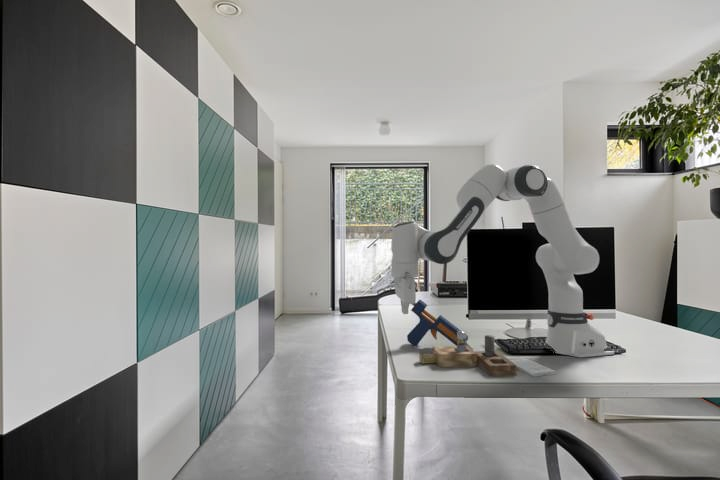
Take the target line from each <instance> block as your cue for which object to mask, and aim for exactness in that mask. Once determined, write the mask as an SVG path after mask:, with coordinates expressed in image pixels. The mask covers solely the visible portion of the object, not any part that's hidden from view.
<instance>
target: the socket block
mask: <svg viewBox="0 0 720 480" xmlns="http://www.w3.org/2000/svg"><path fill="white" fill-rule="evenodd" d="M471 348H472V347H471ZM471 348H469V347H468V346H466V352H457V346H456V345H454V346H452V345H451V346H450V345H449V346H448V345H447V346H432V354H436V355H437V363H436V364H437V366H438V365H439V366H438V367H439V368H454V367H459V368H460V367H477V366H478V364H477V354H476V353H475V352H474V349H473V348H472V349H473V350H472V349H471Z"/></svg>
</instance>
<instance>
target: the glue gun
mask: <svg viewBox="0 0 720 480" xmlns="http://www.w3.org/2000/svg"><path fill="white" fill-rule="evenodd" d="M411 306H413V307H412V308H411V309H410V311H411V312H412V313H414V314H415V316H417V317H418V319H419V322H418V323H417V324H416V325H415V326H414V327H413V329H412V330H411V331H409V333H408V334H407V335H406V337H407V343H409V344H410V345H412V346H413V347H414V346H416V347H417V346H418V345H419V343H420V342H421V341H422V339H423V338H424V337H425V335H426V334H427V333H428V332H429V331H430V333H431V335H432V337H433V338H434V339H435V340H436V341H438V338H437V333H440V335H442V336H443V337H445V338H446V339H447V340H449V341H450V342H451V343H452V344H453V345H454V346H457V331H462V330H460V328H458V327H457V326H456V325H454V324H452V322H451V321H449V320H448V319H447V318H445V317H444V316H443V315H442V314H439V315H438V317H437V318H436V317H435V316H434V315H432V314H431V313H430V312H428V311H427V310H426V308H427V307H428V304H427V303H425V301H423V300H422V299H418V300H417V301H416V302H415V304H411ZM468 340H469V335H467V334H466V346H468V347H469V348H471V349H472V350H473V351H474V349H473V347H472V346H471V345H470V344H469V343H468V342H467V341H468Z"/></svg>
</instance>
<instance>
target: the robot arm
mask: <svg viewBox="0 0 720 480" xmlns="http://www.w3.org/2000/svg"><path fill="white" fill-rule="evenodd" d="M455 199H456V203H457V206H458V208H459V211H458V212H457V213H456V215H455V216H454V218H452V220H451V221H450V223H448V225H446V227H444V228H442V229H441V230H438V231H430V230H428V229H426V228H423V227H422V226H420V225H419V224H418V223H417V222H416V221H406V222H401V223H397V224H395V226H393V228H392V233H391V253H392V258H391V260H390V261H391V262H390V264H391V268H390V269H391V272H390V273H391V277H393V280H394V281H393V282H394V283H393V284H394V285H393V286H394V292H395V296H397V298H399V300H400V307H401V313H402V314H403V315H408V314H409V306H410V305H412V304H415V303H416V302H417V301H416V299H417V297H416V281H415V279H416V278H418V277H419V260H420V259H421V260H424V261H427V262H433V263H435V264H438V265H445V264H449V263H450V262H452V261H453V260H454V259H455V258H456V256H457V255H458V252H459V249H460V246H461V244H462V242H463V241H464V239H465V238H466V236H467V235H468V234H469V232H471V230H472V229H473V227H474V226H475V224H476V223H477V222H478V220H480V218H481V216H482V215H483V214H484V212H485V211H486V209H487V208H488V207H489V206H490V205H491V204H492V203H493V202H494V201H495V200H496V199H497V200H500V201H503V202H510V201H519V200H522V199H524V200H525V201H526V202H527V203H528V205H529V206H528V207H529V209H530V212H531V215H532V218H533V221H534V224H535V226H536V229H537V231H538V233H539V234H540V235H541V236H542V237H543V238H545V240H547V242H548V243H545V244H543V245H541V246H539V247H538V248H537V250H536V253H535V261H536V263H537V264H538V266H539V267H540V269H541V270H542V272H543V275H544V278H545V281H546V285H547V292H548V309H547V319H546V321H547V332H546V339H545V342H546V343H547V344H548V345H549V346H551V347H552V348H553V349H554V350H555V351H556V352H555V353H556V354H560V355H565V356H571V357H576V358H591V357H599V356H602V357H603V356H611V355H615V350H613V351H604V349H606V348H607V347H608V346H607V341H606V340H607V339H606V337H605V334H604V333H602V332H601V331H600V330H598V329H597V328H596V327H594V325H592V324H591V323H590V322H589V321H588V320H590V321H593V320H594V319H595V317H594V314H591V313H586V312H584V307H583V306H584V303H583V302H584V295H583V294H584V293H583V289H582V288H581V286H580V285H579V284H578V283H577V281H576V278H575V276H574V275H585V274H590V273H593V272H594V271H595V270H596V269H597V268H598V266H599V264H600V254H599V252H598V250H597V248H595V247H594V246H592V245H591V244H589V242H587V241H586V240H585V239H584V238H583V237H582V235H580V233H579V232H578V230H577V229H576V228H575V225H574V224H573V223H572V220H571V218H570V216H569V213H568V211H567V210H568V209H567V207H566V205H565V202H564V199H563V197H562V194H561V193H560V191H559V188H558V187H557V186H556V183H555V182H554V181H553V179H551V178H548V176H546V174H545V172H544V170H543V169H542V168H540V167H539V166H537V165H535V164H533V165H532V164H527V165H523V166H517V167H513V168H510V169H508V170H504V169H503V168H502V167H501V166H499V165H498V164H494V163H489V164H488V163H487V164H486V165H484V166H483V167H481V168H480V169H478V171H476V172H475V173H474V174H473V175H472V176H471V177H469V179H467V181H465V183H464V184H463V185H462V186H461V188H460V189H459V191H458V193H457V194H456V198H455Z"/></svg>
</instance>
